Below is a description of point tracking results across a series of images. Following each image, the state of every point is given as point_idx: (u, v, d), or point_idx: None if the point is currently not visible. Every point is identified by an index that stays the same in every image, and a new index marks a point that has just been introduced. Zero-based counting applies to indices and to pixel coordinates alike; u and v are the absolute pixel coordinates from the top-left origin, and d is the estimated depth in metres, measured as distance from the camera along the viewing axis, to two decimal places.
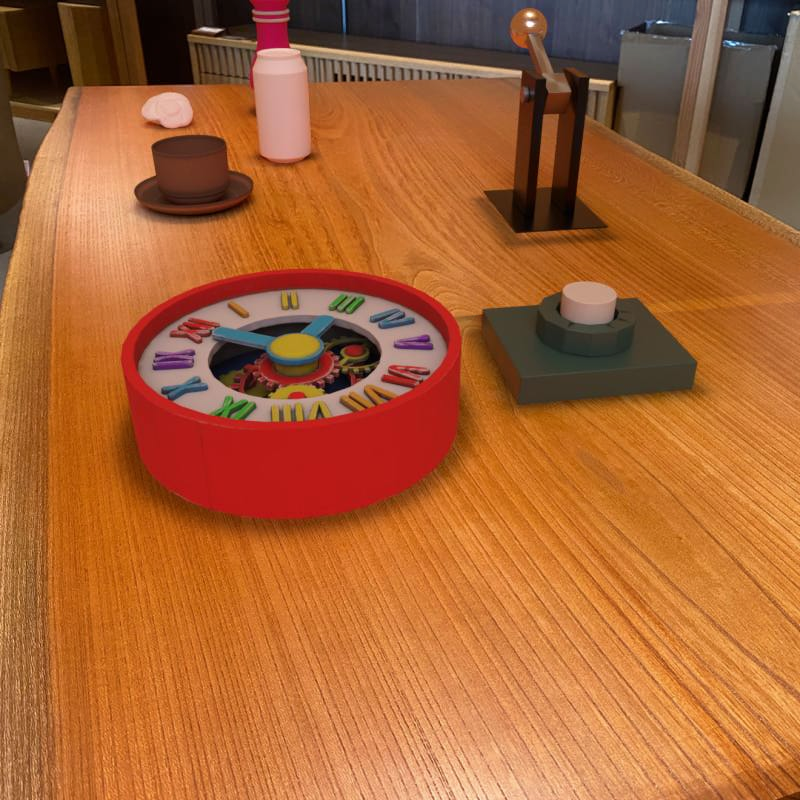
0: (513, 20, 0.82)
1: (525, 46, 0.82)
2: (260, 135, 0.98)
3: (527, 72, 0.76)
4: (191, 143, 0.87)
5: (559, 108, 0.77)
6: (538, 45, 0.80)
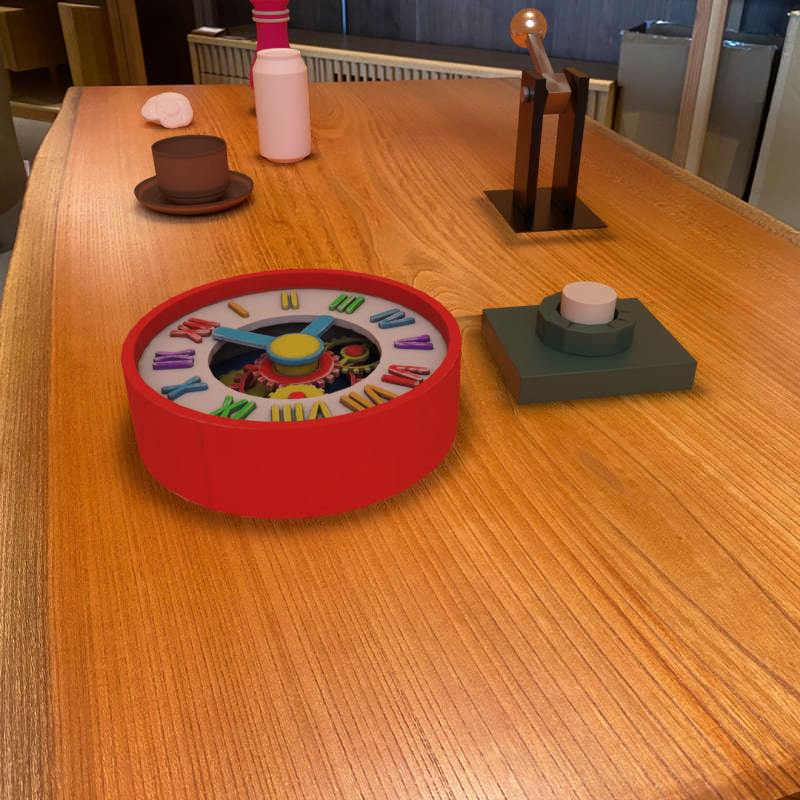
0: (513, 20, 0.82)
1: (525, 46, 0.82)
2: (260, 135, 0.98)
3: (527, 72, 0.76)
4: (191, 143, 0.87)
5: (559, 108, 0.77)
6: (538, 45, 0.80)
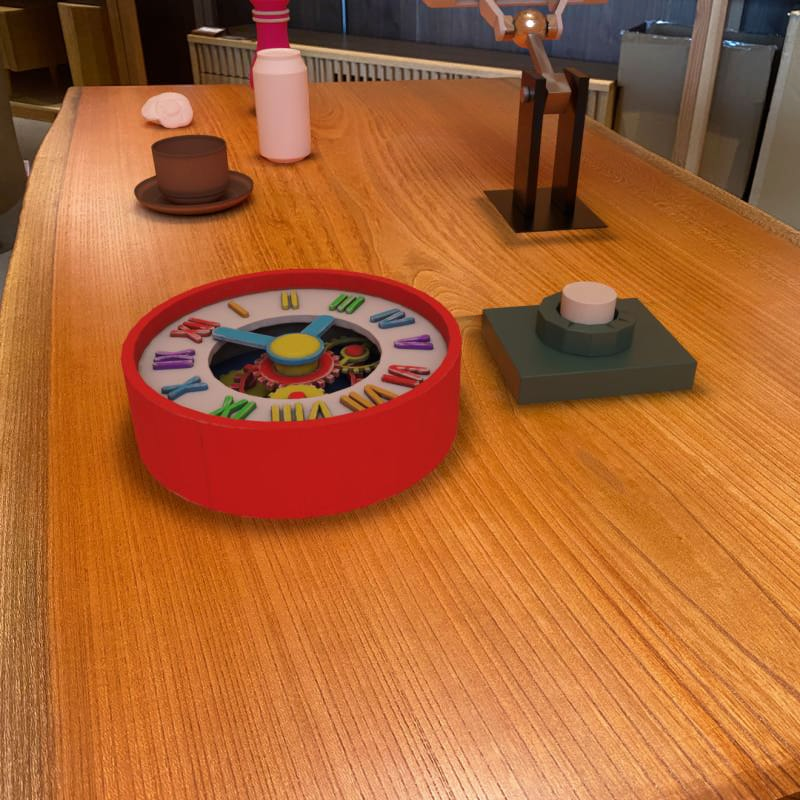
0: (513, 20, 0.82)
1: (525, 46, 0.82)
2: (260, 135, 0.98)
3: (527, 72, 0.76)
4: (191, 143, 0.87)
5: (559, 108, 0.77)
6: (538, 45, 0.80)
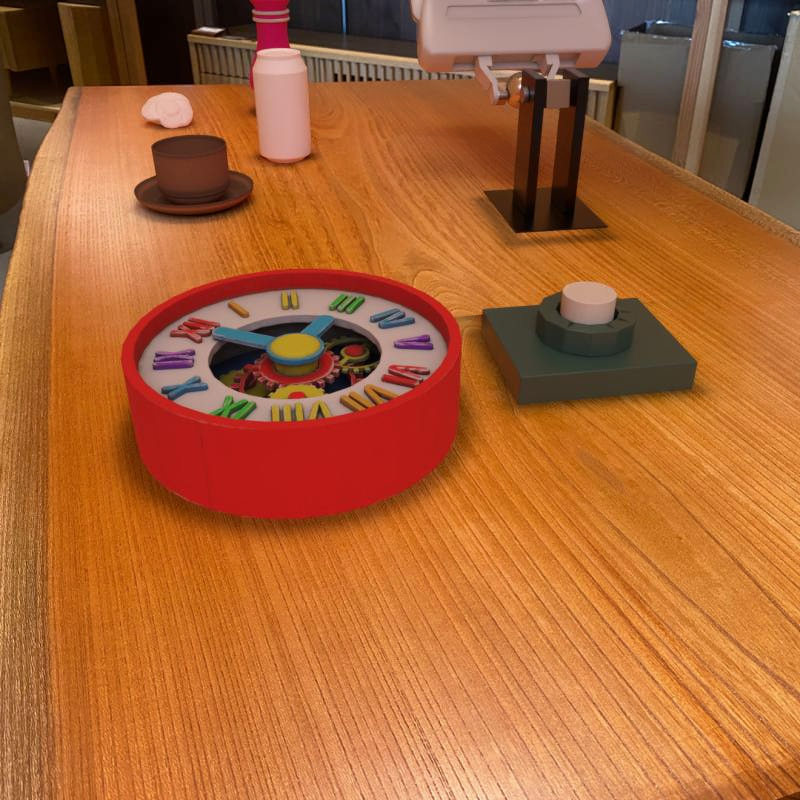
0: None
1: None
2: (260, 135, 0.98)
3: (527, 72, 0.76)
4: (191, 143, 0.87)
5: (561, 100, 0.76)
6: None
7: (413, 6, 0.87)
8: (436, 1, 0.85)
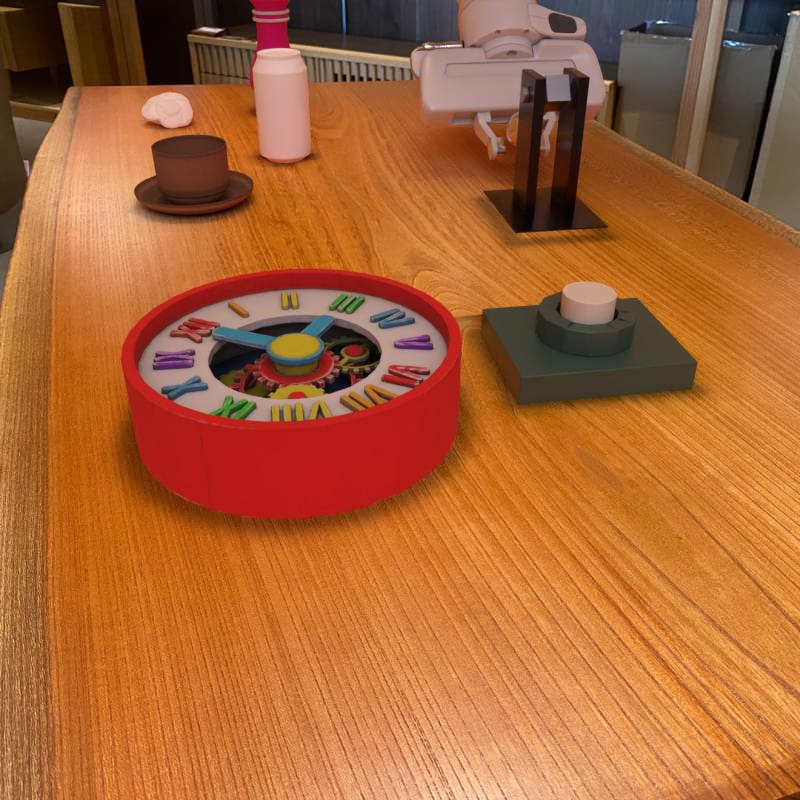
0: (506, 124, 0.87)
1: None
2: (260, 135, 0.98)
3: (527, 72, 0.76)
4: (191, 143, 0.87)
5: (562, 93, 0.76)
6: None
7: (413, 63, 0.89)
8: (435, 59, 0.88)
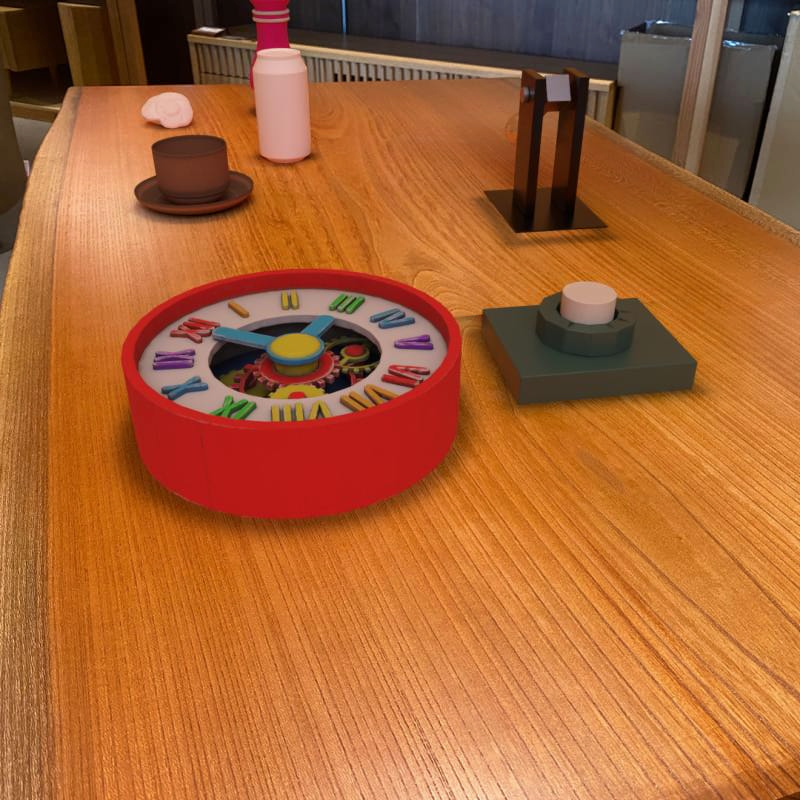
0: (506, 124, 0.87)
1: None
2: (260, 135, 0.98)
3: (527, 72, 0.76)
4: (191, 143, 0.87)
5: (562, 93, 0.76)
6: None
7: None
8: None
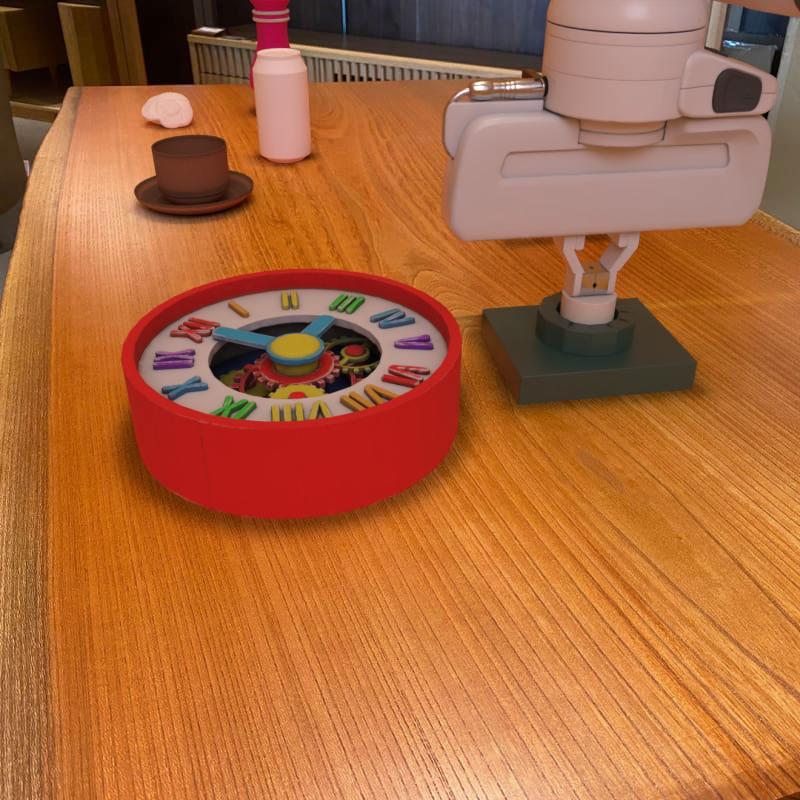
0: None
1: None
2: (260, 135, 0.98)
3: (527, 72, 0.76)
4: (191, 143, 0.87)
5: None
6: None
7: (447, 130, 0.49)
8: (488, 145, 0.48)
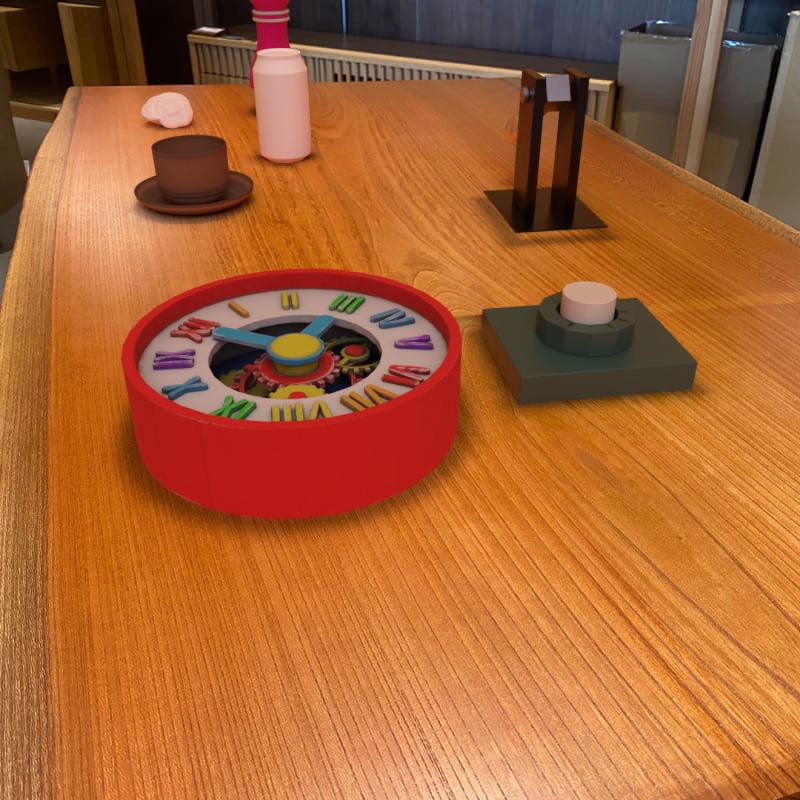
0: (506, 124, 0.87)
1: None
2: (260, 135, 0.98)
3: (527, 72, 0.76)
4: (191, 143, 0.87)
5: (562, 93, 0.76)
6: None
7: None
8: None
